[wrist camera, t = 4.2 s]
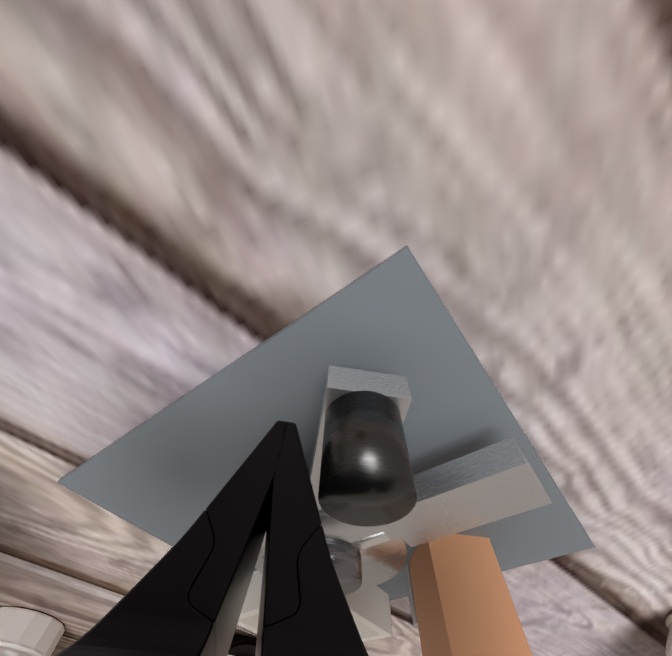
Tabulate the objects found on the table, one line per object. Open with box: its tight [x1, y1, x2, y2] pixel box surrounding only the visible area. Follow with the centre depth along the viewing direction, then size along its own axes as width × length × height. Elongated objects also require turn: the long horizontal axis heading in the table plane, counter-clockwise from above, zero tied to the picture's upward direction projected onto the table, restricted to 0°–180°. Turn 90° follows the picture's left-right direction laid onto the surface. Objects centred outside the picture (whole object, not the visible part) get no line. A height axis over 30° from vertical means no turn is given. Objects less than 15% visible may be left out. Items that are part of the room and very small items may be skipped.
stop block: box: [409, 534, 532, 656], centre depth 17 cm, size 4×4×6 cm
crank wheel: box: [255, 365, 552, 595], centre depth 13 cm, size 14×13×4 cm
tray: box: [237, 570, 393, 642], centre depth 22 cm, size 8×8×2 cm
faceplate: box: [57, 246, 595, 627], centre depth 17 cm, size 23×23×3 cm
